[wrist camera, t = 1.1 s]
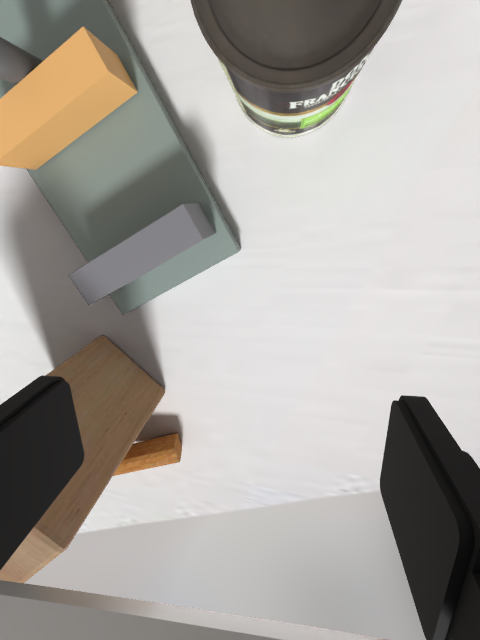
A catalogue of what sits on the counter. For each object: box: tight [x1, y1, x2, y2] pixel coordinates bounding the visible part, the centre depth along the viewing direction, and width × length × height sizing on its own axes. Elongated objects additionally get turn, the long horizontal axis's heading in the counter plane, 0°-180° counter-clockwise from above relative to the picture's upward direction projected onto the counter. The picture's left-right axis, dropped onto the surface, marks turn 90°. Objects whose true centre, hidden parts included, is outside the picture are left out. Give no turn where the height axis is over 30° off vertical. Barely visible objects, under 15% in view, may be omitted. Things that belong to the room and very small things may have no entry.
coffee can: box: [191, 0, 402, 137], centre depth 22 cm, size 10×10×14 cm
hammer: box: [113, 433, 182, 476], centre depth 42 cm, size 14×2×30 cm
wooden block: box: [0, 335, 165, 583], centre depth 32 cm, size 10×10×20 cm
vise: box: [0, 0, 241, 315], centre depth 29 cm, size 14×30×7 cm, turn 29°
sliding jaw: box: [0, 26, 138, 170], centre depth 26 cm, size 12×5×8 cm, turn 119°
